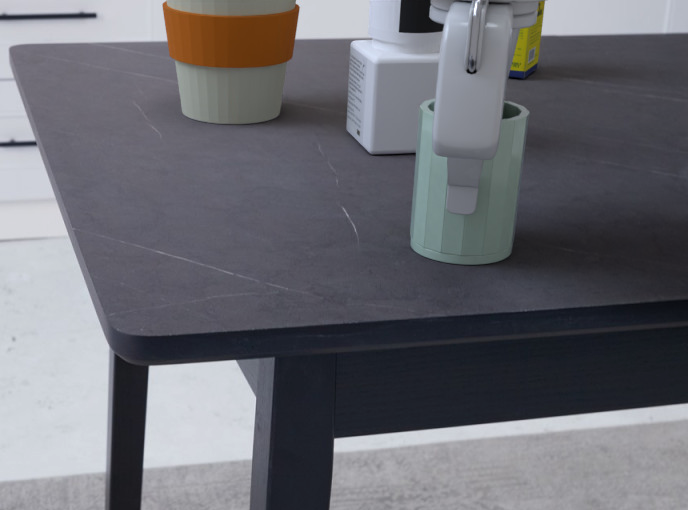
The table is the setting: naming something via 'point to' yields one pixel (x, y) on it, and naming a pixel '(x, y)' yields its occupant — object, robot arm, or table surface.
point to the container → (393, 75)
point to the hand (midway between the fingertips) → (465, 191)
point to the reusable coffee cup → (231, 56)
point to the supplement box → (528, 47)
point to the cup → (492, 202)
